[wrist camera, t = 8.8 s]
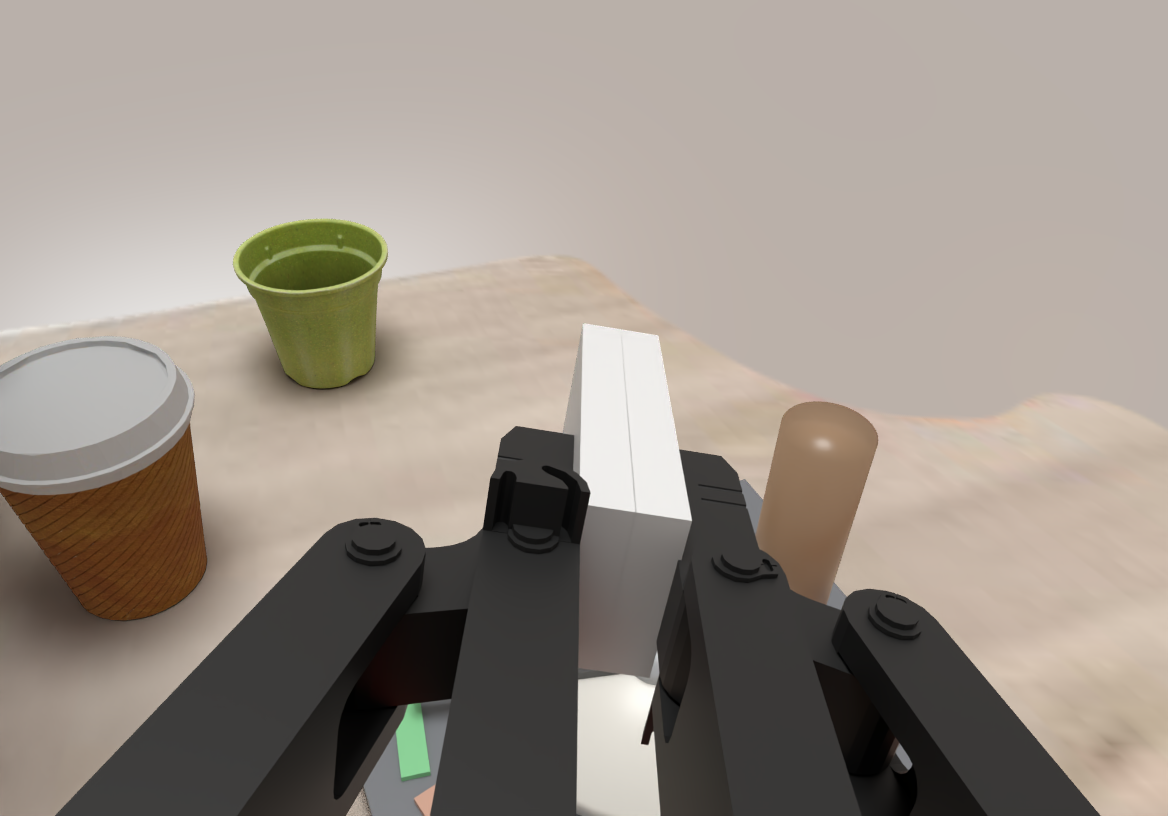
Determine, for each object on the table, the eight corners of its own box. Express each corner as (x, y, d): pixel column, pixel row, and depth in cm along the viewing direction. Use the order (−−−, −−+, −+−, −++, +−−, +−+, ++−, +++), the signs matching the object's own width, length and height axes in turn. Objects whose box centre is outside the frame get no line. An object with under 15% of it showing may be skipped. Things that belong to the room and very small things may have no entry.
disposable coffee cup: (1, 638, 44) (-106, 451, 36) (101, 501, 51) (29, 322, 44) (193, 657, 43) (125, 472, 36) (266, 516, 51) (221, 339, 43)
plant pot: (394, 404, 59) (381, 290, 54) (245, 408, 58) (217, 292, 53) (403, 325, 67) (392, 218, 61) (271, 327, 66) (248, 218, 60)
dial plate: (317, 627, 45) (313, 607, 44) (741, 494, 54) (745, 475, 53) (442, 1062, 31) (439, 1047, 30) (988, 785, 40) (999, 767, 39)
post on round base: (401, 712, 40) (366, 474, 31) (572, 508, 50) (583, 287, 42) (745, 910, 34) (822, 686, 25) (858, 633, 44) (940, 405, 36)
